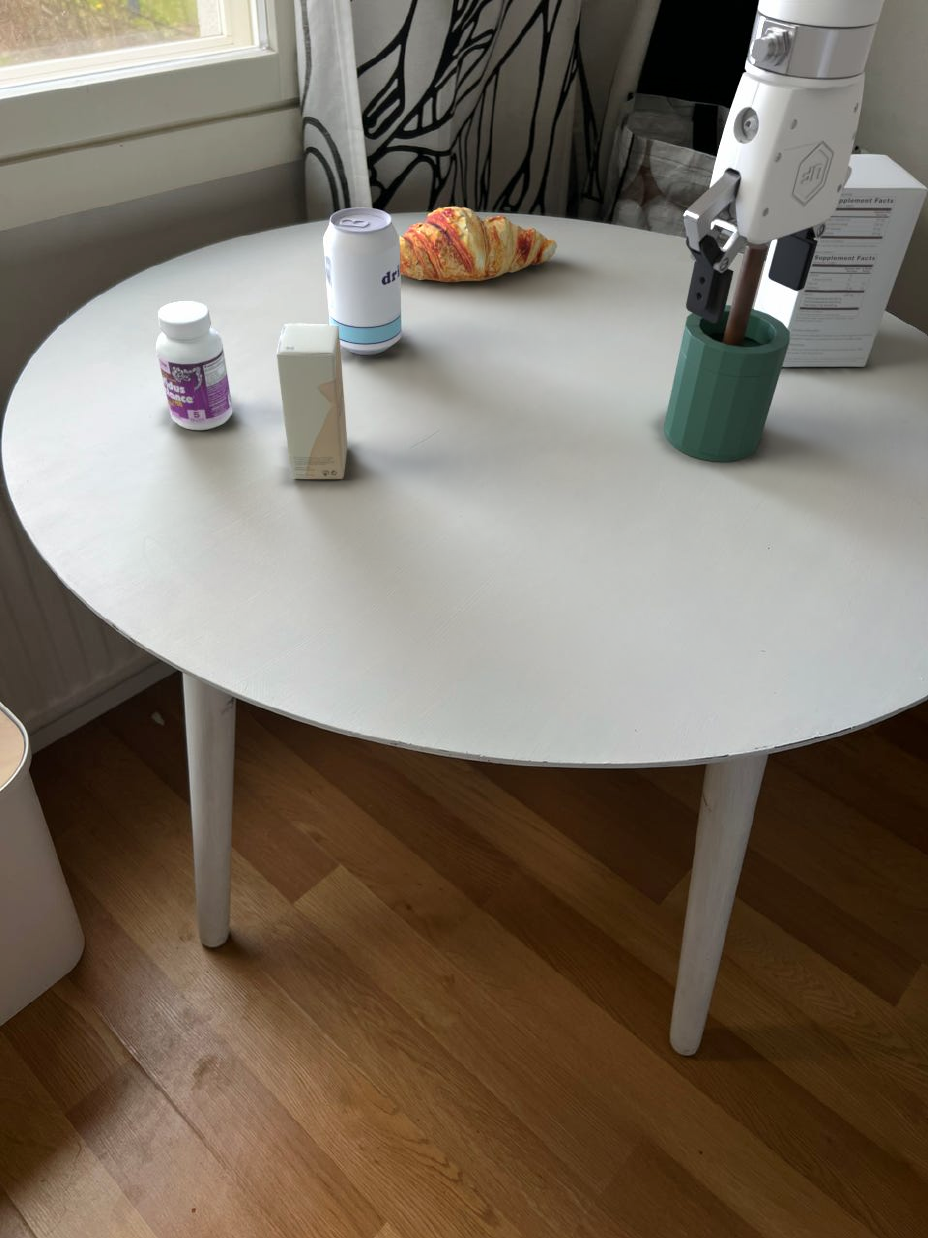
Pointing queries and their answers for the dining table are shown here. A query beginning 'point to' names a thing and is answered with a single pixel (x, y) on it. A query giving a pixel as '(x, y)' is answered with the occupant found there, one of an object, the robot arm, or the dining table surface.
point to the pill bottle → (193, 366)
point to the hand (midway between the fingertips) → (745, 299)
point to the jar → (724, 387)
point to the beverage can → (363, 279)
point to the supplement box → (848, 268)
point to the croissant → (469, 247)
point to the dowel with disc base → (745, 293)
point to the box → (313, 400)
